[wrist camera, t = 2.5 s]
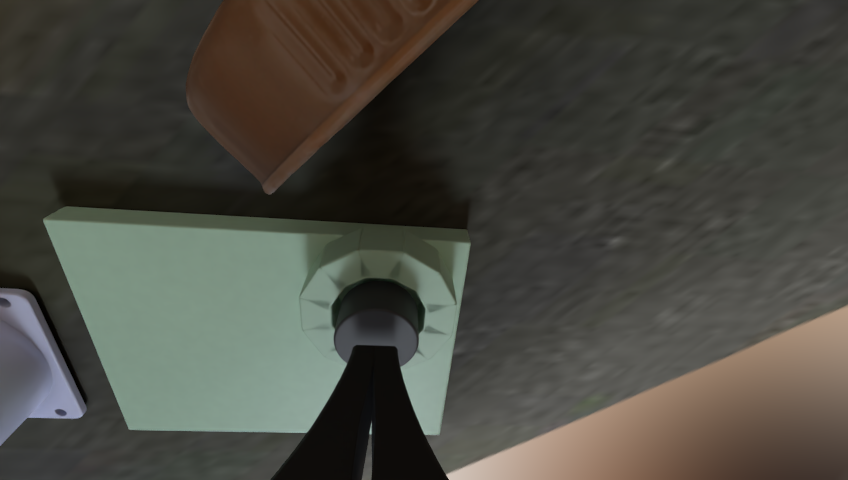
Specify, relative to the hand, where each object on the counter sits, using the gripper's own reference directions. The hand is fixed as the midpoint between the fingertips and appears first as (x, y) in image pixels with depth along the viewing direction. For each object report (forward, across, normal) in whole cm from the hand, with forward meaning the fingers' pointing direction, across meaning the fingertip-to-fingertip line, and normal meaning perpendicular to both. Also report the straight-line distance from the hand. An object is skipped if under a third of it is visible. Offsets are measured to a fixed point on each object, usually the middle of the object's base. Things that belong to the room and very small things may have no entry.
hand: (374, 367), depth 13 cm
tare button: (+3, 0, 0) cm, 3 cm away
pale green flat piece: (+6, +4, +4) cm, 8 cm away
